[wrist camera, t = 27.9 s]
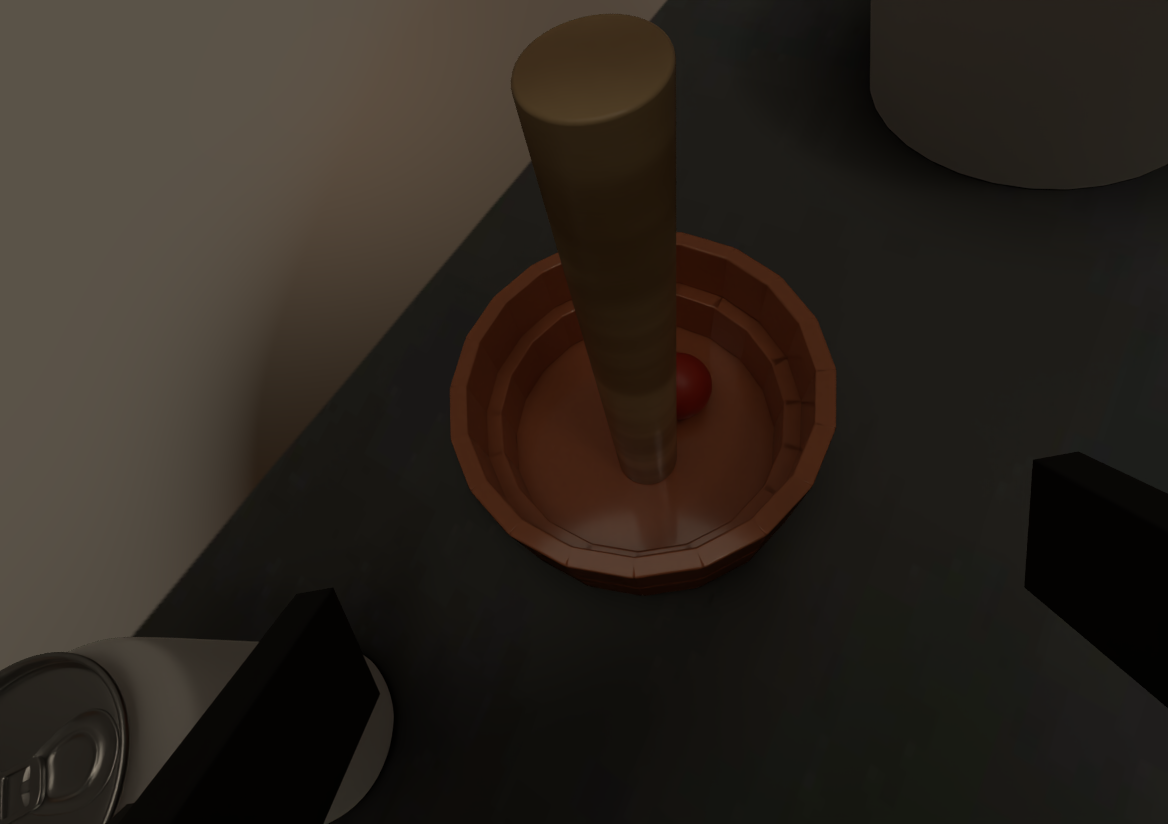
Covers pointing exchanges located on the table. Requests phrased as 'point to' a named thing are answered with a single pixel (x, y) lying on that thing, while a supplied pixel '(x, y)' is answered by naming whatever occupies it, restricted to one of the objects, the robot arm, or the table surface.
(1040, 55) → the grey tapered cylinder
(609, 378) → the stick
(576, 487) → the stir bowl
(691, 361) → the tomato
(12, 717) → the can
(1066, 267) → the table surface
